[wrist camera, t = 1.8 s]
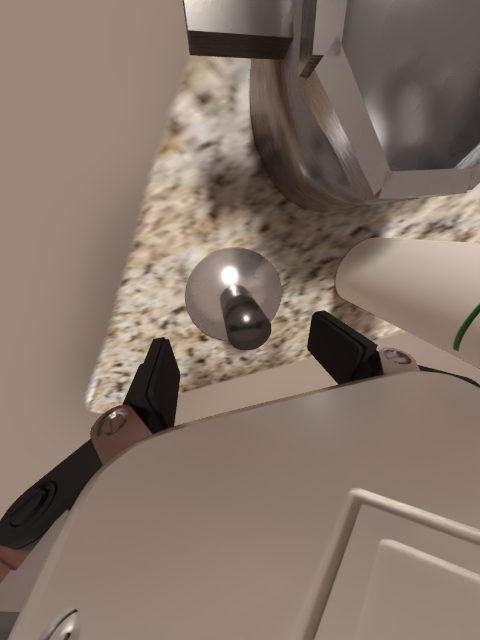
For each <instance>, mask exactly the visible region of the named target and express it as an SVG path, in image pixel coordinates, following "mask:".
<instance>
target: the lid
mask: <svg viewBox="0 0 480 640" xmlns="http://www.w3.org/2000/svg"><path fill="white" fill-rule="evenodd" d="M281 295H282V288H281V282H280V278H279V276H278V273H277V271H276V270H275V268H274V267H273V265H272V264H271V263H270V262H269V261H268V260H267V259H266V258H265V257H263V256H261V255H260V254H258V253H256V252H254V251H252V250H249V249H245V248H239V247H230V248H224V249H220V250H217V251H215V252H213V253H211V254H209V255H207V256H206V257H204V258H203V259H202V260H201V261H200V262H199V263H198V264H197V265H196V266H195V268H194V269H193V271H192V273H191V274H190V277H189V279H188V282H187V286H186V291H185V303H186V308H187V311H188V314H189V316H190V318H191V320H192V321H193V323H194V324H195V325H196V326H197V327H198V328H199V329H200V330H201V331H203V332H204V333H206V334H207V335H209V336H211V337H214V338H217V339H221V340H229V342H230V343H231V345H232V346H234V347H235V348H237V349H240V350H252V349H256V348H258V347H260V346H261V345H263V344H264V343H265V342H266V341H267V339H268V338H269V336H270V334H271V323H270V322H271V321H272V319H273V318H274V316H275V315H276V313H277V311H278V308H279V306H280V302H281Z"/></svg>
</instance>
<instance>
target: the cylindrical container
mask: <svg viewBox="0 0 480 640" xmlns="http://www.w3.org/2000/svg"><path fill="white" fill-rule="evenodd" d="M335 287H336V290H337V293H338V294H339V296H340V297H341V298H343V299H345V300H346V301H348V302H350V303H352V304H354V305H356V306H358V307H360V308H362V309H364V310H366V311H368V312H370V313H372V314H374V315H376V316H377V317H379V318H381V319H383V320H385V321H387V322H389V323H391V324H393V325H395V326H397V327H399V328H401V329H403V330H405V331H407V332H409V333H411V334H413V335H415V336H416V337H418V338H420V339H423V340H424V341H426V342H428V343H430V344H432V345H434V346H436V347H438V348H440V349H442V350H444V351H446V352H448V353H450V354H452V355H454V356H456V357H458V358H460V359H462V360H463V361H466V362H467V363H469V364H472V365H473V366H475V367H477V368H479V369H480V243H469V242H452V241H434V240H416V239H398V238H381V237H373V238H368V239H366V240H364V241H362V242H360V243H359V244H357V245H356V246H354V247H353V248H352V249H351V250H350V251H349V252H348V253H347V254H346V256H345V257H344V259H343V260H342V261H341V263H340V265H339V268H338V270H337V273H336V279H335Z"/></svg>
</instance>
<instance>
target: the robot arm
mask: <svg viewBox="0 0 480 640" xmlns="http://www.w3.org/2000/svg"><path fill="white" fill-rule="evenodd" d="M307 348H308V351H309V352H310V353H311V354H312V355H313V356H314V357H315V359H316V360H317V361H318V362H319V363H320V364H321V365H322V366H323V368H324V369H325V370H326V371H327V372H328V373H329V374H330V375H331V376H332V378H333V379H334V380H335V381H336V382H337V383H338V384H339V385H336V386H331V387H328V388H323V389H319V390H315V391H311V392H306V393H302V394H298V395H294V396H290V397H286V398H282V399H278V400H274V401H269V402H265V403H261V404H258V405H253V406H249V407H245V408H242V409H238V410H233V411H229V412H225V413H221V414H218V415H214V416H210V417H207V418H202V419H199V420H195V421H191V422H187V423H184V424H181V425H177V426H174V423H175V414H176V407H177V398H178V391H179V383H180V371H179V368H178V365H177V362H176V359H175V356H174V353H173V350H172V347H171V344H170V341H169V339H165V338H164V337H162V338H156V339H153V341H152V344H151V346H150V349H149V351H148V353H147V356H146V358H145V361H144V363H143V364H140V366H139V367H138V370H137V372H136V374H135V377H134V379H133V381H132V384H131V386H130V388H129V391H128V393H127V395H126V397H125V400H124V402H123V404H122V405H119V406H116V407H113V408H111V409H110V410H108V411H106V412H105V413H104V414H103V415H102V416H100V417H99V418H98V419H97V420H96V422H95V423H94V425H93V426H92V428H91V431H90V438H91V439H90V440H89V441H88V442H86V443H85V444H83V445H82V446H81V447H80V448H79V449H78V450H76V451H75V452H74V453H73V454H71V455H70V456H69V457H68V458H66V459H65V460H64V461H62V462H61V463H60V464H59V465H57V466H56V467H55V468H54V469H53V470H52V471H50V472H49V473H48V474H47V475H45V476H44V477H43V478H41V479H40V480H39V481H38V482H36V483H35V484H34V485H33V486H31V487H30V488H29V489H28V490H26V491H25V492H24V493H23V494H22V495H21V496H20V497H19V498H18V499H17V500H16V501H15V502H14V503H13V504H12V505H11V507H10V508H9V509H8V510H7V511H6V513H5V515H4V516H3V517H2V519H1V520H0V640H480V385H479V384H478V383H477V382H475V381H473V380H472V379H469V378H467V377H463V376H459V375H455V374H451V373H447V372H443V371H439V370H435V369H432V368H427V367H423V366H420V365H417V363H416V361H415V359H414V358H413V357H412V356H410V355H409V354H407V353H406V352H403V351H401V350H398V349H394V348H382V349H380V350H379V352H378V351H377V350H376V348H377V344H375V343H374V342H372V341H371V340H369V339H367V338H366V337H364V336H363V335H361V334H360V333H358V332H357V331H355V330H354V329H352V328H351V327H349V326H348V325H346V324H345V323H343V322H342V321H340V320H339V319H337V318H336V317H334V316H333V315H331V314H329V313H328V312H326V311H325V310H323V311H317V312H315V313H314V314H313V315H312V320H311V326H310V332H309V339H308V345H307ZM78 611H79V612H78Z"/></svg>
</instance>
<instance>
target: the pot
mask: <svg viewBox="0 0 480 640" xmlns="http://www.w3.org/2000/svg"><path fill="white" fill-rule="evenodd" d="M183 6H184V14H185V22H186V29H187V36H188V44H189V52H190V55H196V56H215V57H234V58H252V59H251V69H250V110H251V119H252V126H253V132H254V137H255V141H256V145H257V149H258V152H259V154H260V157H261V160H262V163H263V165H264V167H265V169H266V171H267V173H268V175H269V177H270V178H271V180H272V181H273V183H274V184H275V186H276V187H277V188H278V189H279V190H280V192H281V193H282V194H283V195H284V196H285V197H287V198H288V199H289V200H290V201H291V202H293V203H295V204H296V205H298V206H300V207H303V208H305V209H309V210H314V211H329V210H337V209H344V208H352V207H359V206H367V205H375V204H382V203H390V202H397V201H405V200H411V199H417V198H420V197H435V196H446V195H454V194H462V193H466V192H467V190H472V189H473V188H474V187H475V186H477V185H478V184H479V183H480V0H183Z"/></svg>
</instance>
